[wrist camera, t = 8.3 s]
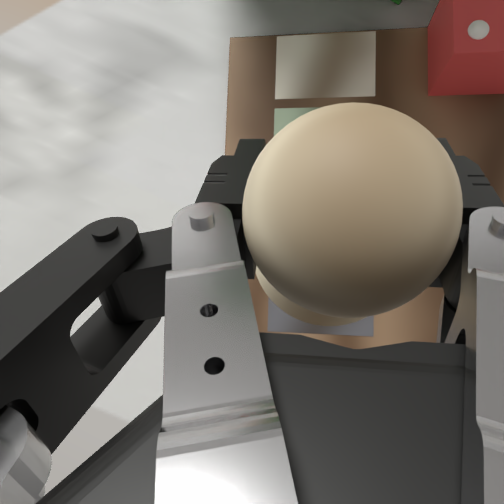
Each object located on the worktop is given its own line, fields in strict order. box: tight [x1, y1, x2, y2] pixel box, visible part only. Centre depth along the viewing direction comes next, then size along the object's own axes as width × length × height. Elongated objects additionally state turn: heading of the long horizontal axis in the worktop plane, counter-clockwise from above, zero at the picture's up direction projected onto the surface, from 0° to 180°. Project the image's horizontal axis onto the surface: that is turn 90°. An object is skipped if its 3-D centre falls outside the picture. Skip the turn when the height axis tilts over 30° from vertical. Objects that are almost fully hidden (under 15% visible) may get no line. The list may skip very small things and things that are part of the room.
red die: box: [428, 0, 504, 96], centre depth 25 cm, size 5×5×5 cm
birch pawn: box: [242, 102, 463, 326], centre depth 11 cm, size 6×6×10 cm
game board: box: [225, 27, 504, 349], centre depth 28 cm, size 20×22×1 cm
